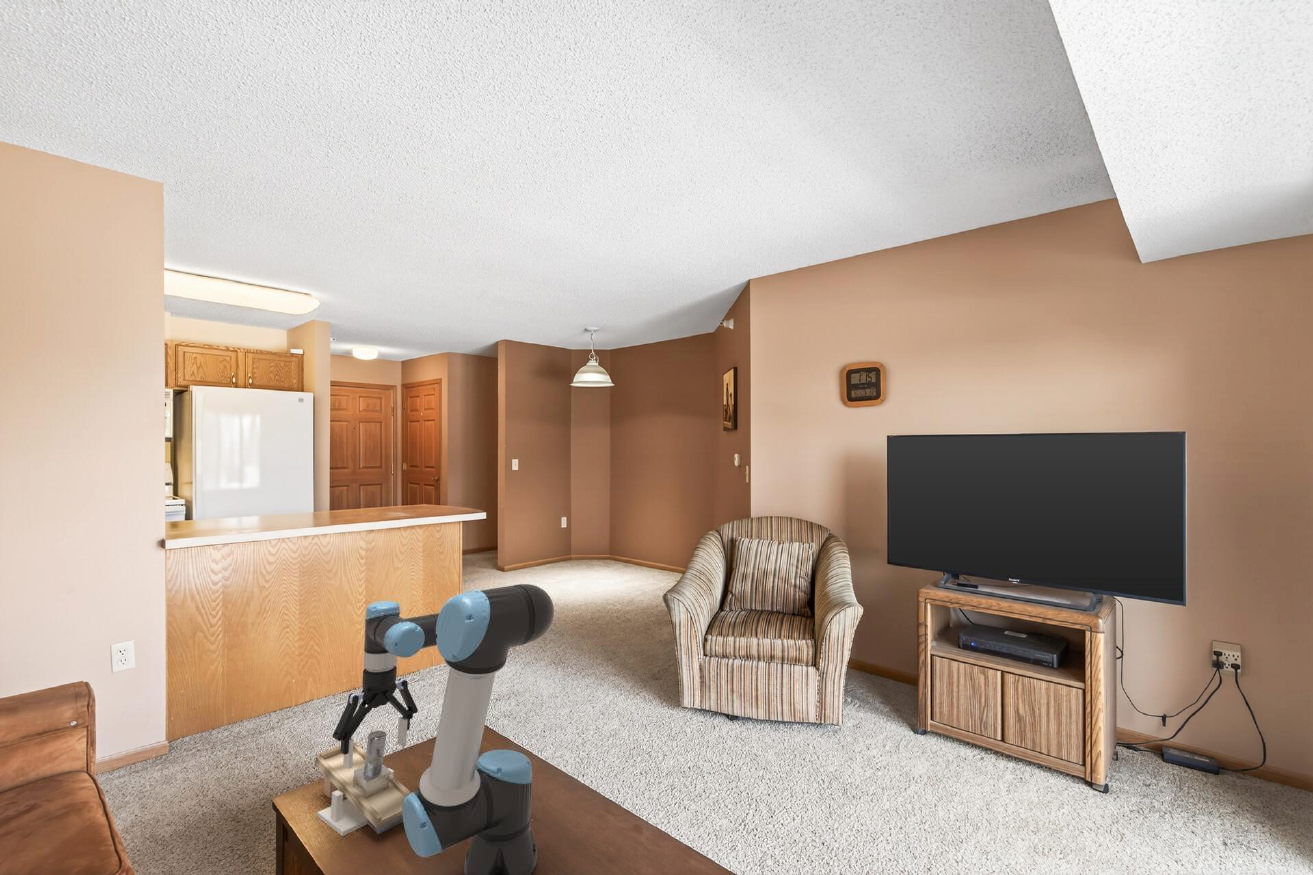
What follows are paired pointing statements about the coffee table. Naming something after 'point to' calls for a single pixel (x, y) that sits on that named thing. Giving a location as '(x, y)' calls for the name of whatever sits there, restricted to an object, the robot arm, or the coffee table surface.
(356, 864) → the coffee table surface
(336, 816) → the stand
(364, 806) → the beam
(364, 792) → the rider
